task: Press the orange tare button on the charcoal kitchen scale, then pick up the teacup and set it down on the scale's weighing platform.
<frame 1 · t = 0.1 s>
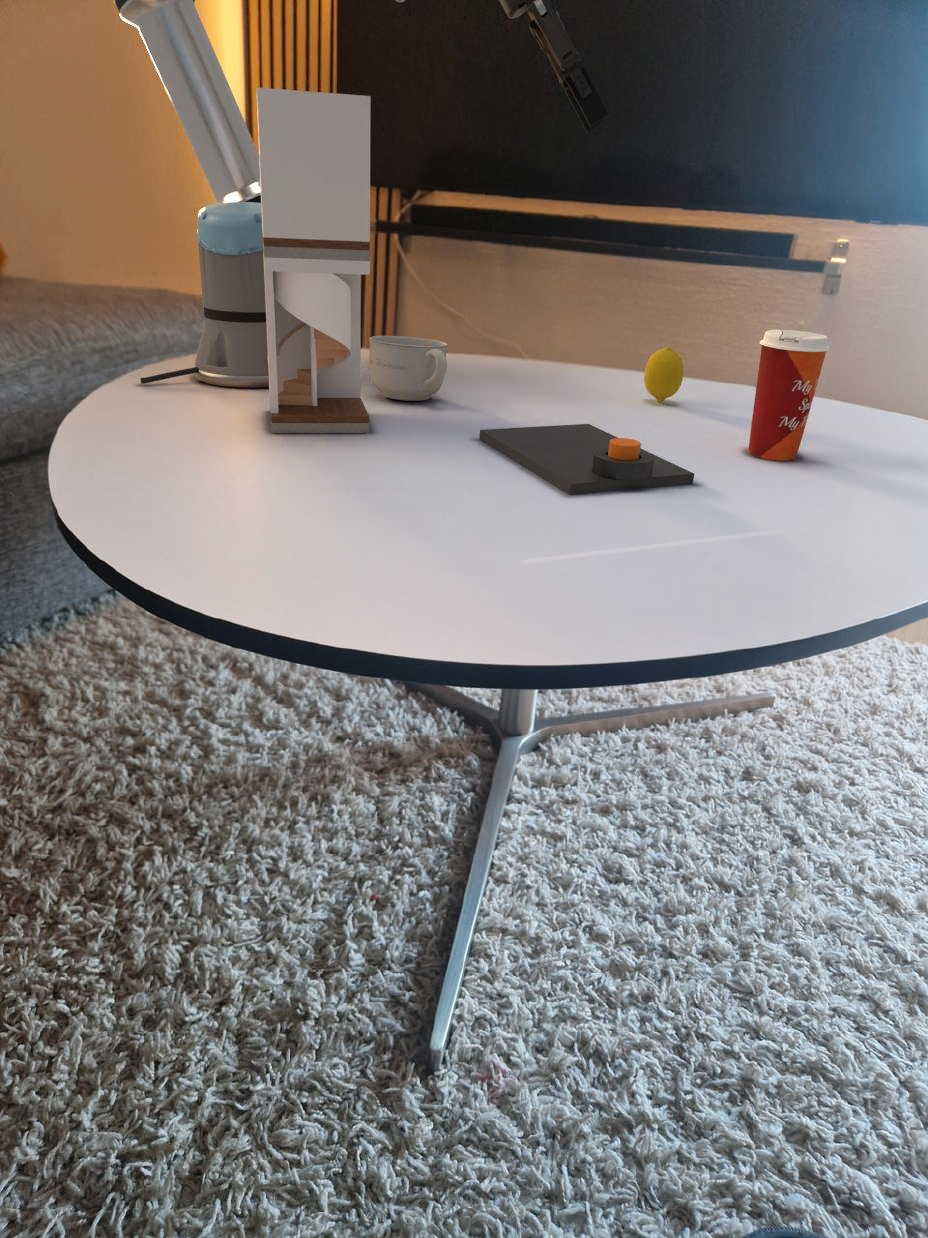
hand: (597, 124, 126), 36 cm above the table, tool tilted 35°, fingers open, 13 cm apart
tare button: (624, 450, 92), point 3 cm above the table, slide at 0.1 cm
spiral staircase model: (318, 423, 111), on the table
teacup: (411, 401, 125), on the table
lemon: (659, 403, 132), on the table
scale: (579, 460, 101), on the table
paper cup: (771, 455, 108), on the table
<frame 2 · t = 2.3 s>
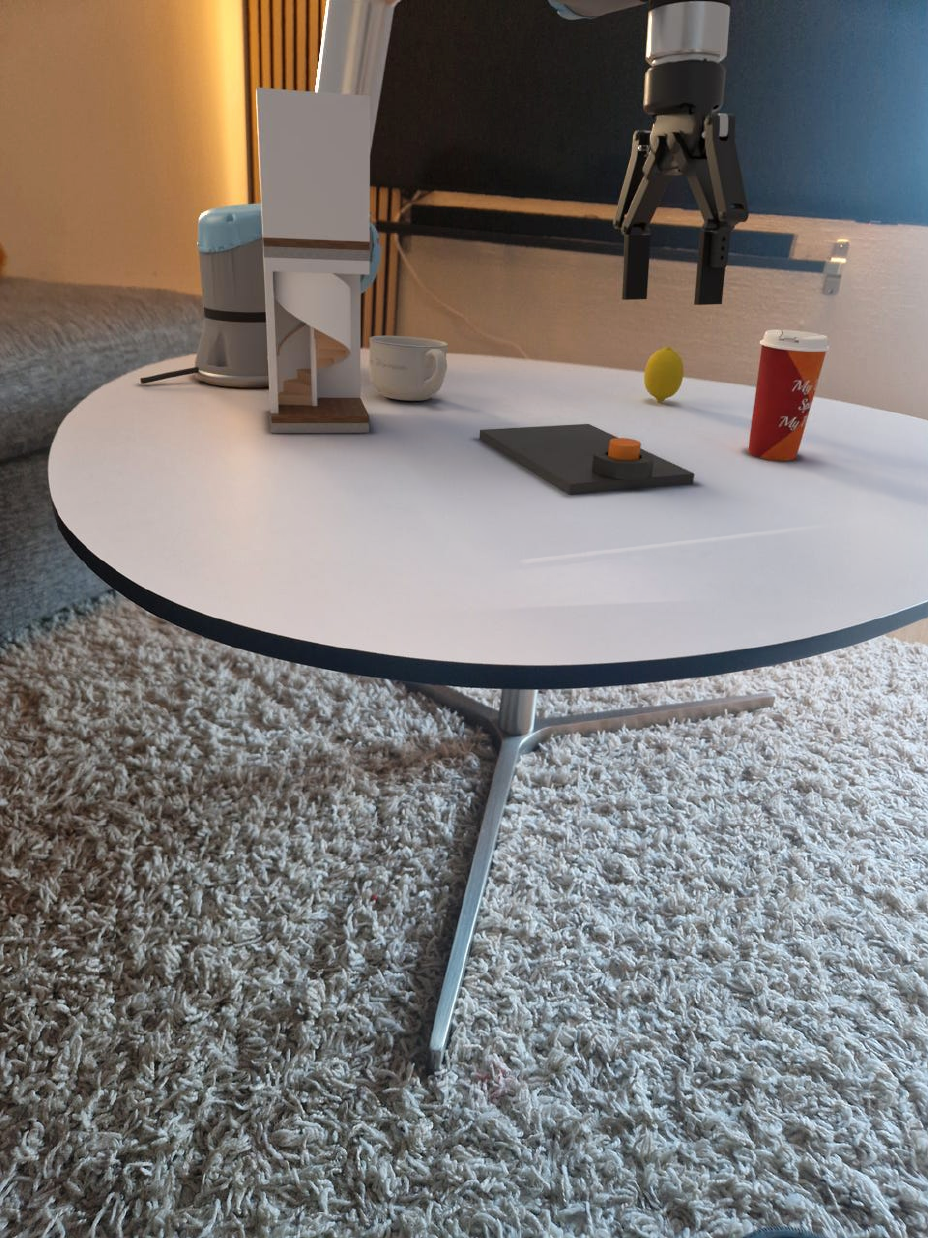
hand: (668, 302, 93), 17 cm above the table, tool pointing down, fingers open, 13 cm apart
nothing on the table moved.
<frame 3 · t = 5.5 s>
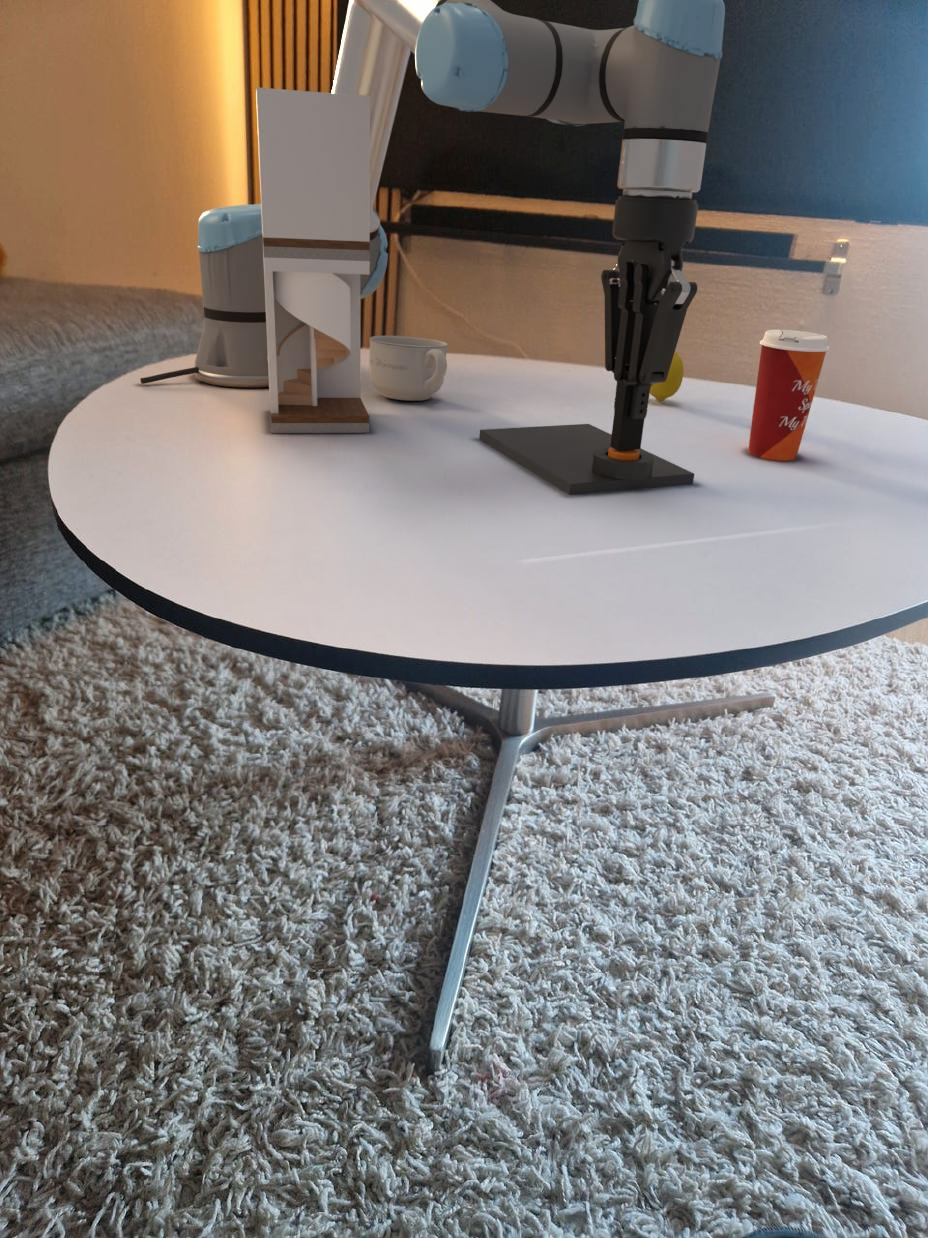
hand: (625, 447, 92), 4 cm above the table, tool pointing down, fingers closed
tare button: (623, 458, 93), point 3 cm above the table, slide at -0.7 cm, touching gripper
everything else where it was.
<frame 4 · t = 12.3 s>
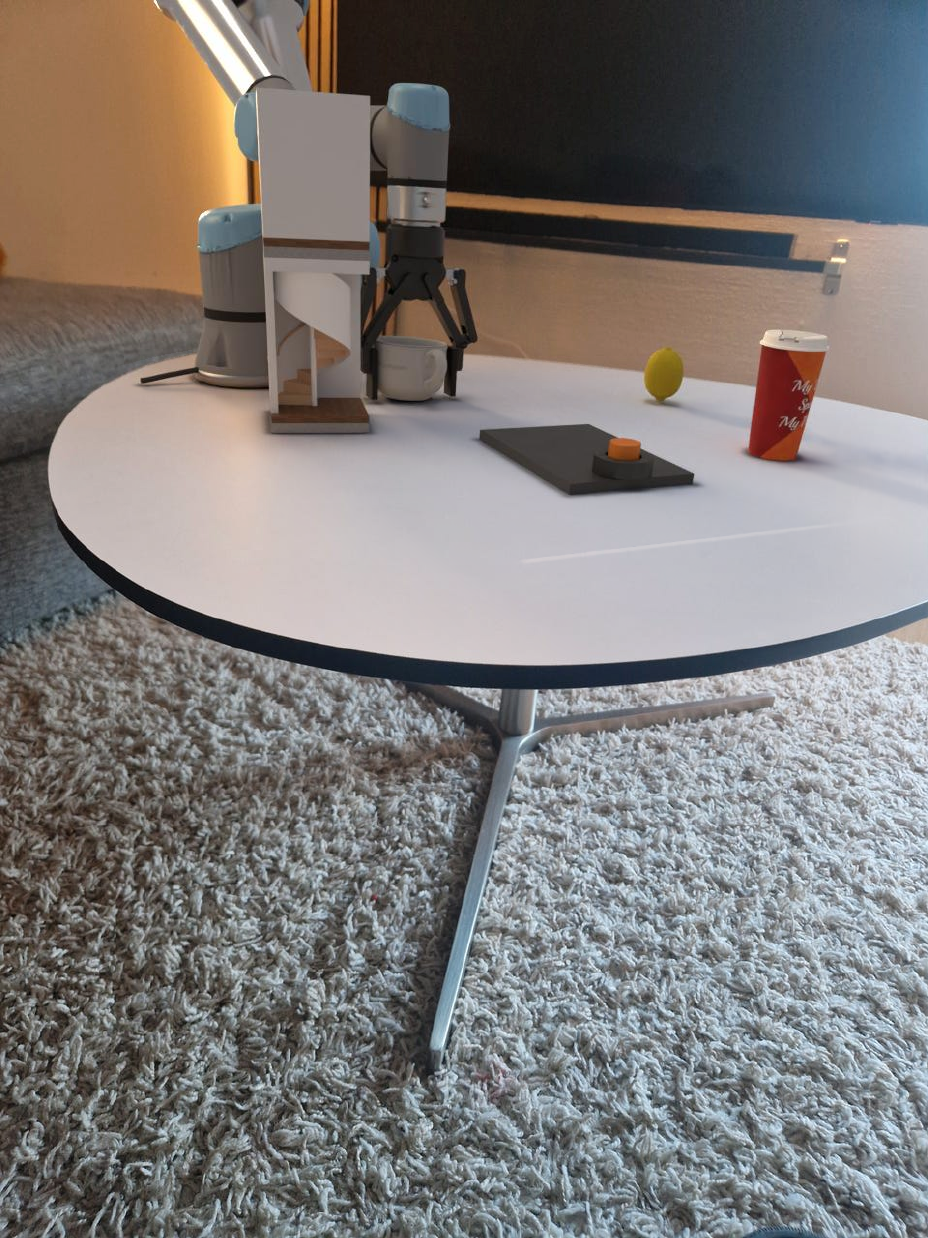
hand: (411, 396, 125), 0 cm above the table, tool pointing down, fingers closed on teacup, 11 cm apart
tare button: (624, 450, 92), point 3 cm above the table, slide at 0.1 cm
teacup: (411, 401, 125), on the table, touching gripper
everything else where it was.
when the fingers open (2 cm above the table, at t = 20.7 s): teacup stays where it is, resting on scale.
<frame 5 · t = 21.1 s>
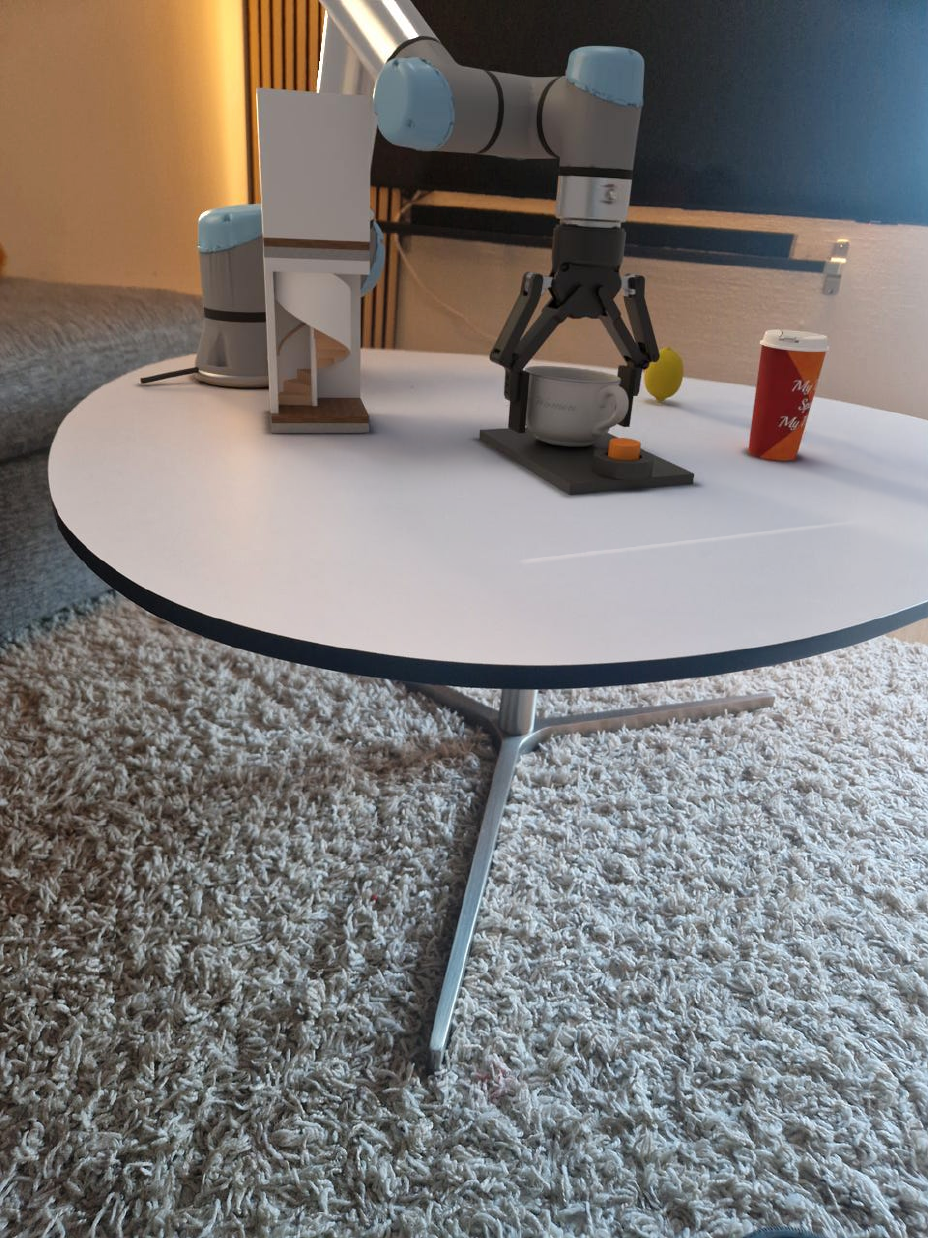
hand: (569, 427, 102), 3 cm above the table, tool pointing down, fingers open, 13 cm apart
spiral staircase model: (318, 423, 111), on the table, touching arm
teacup: (572, 446, 102), point 1 cm above the table, touching scale
everything else where it was.
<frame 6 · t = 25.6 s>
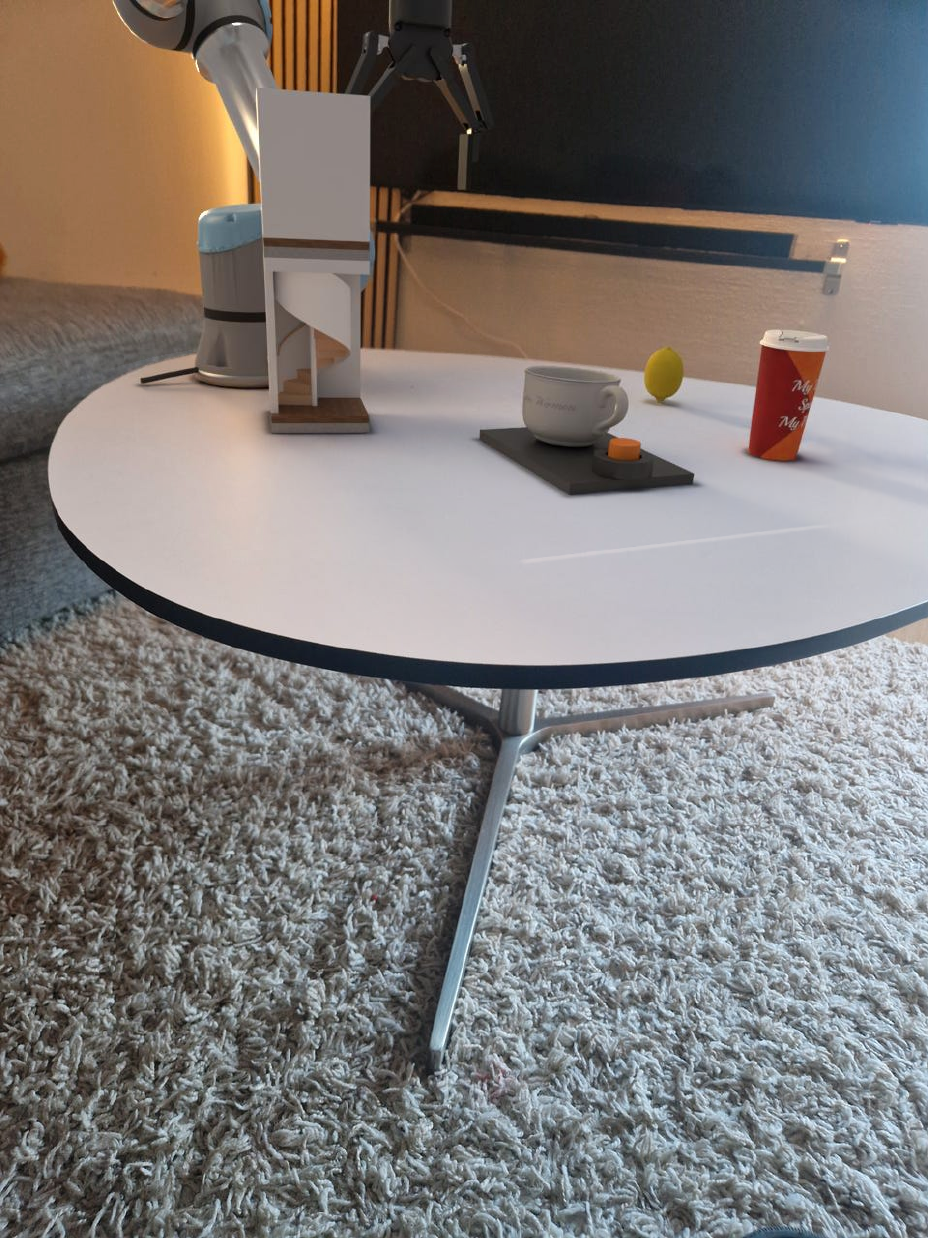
hand: (416, 187, 116), 27 cm above the table, tool pointing down, fingers open, 13 cm apart
spiral staircase model: (318, 423, 111), on the table
everything else where it was.
at the end: tare button pushed in 1.0 cm at the most during the clip, back to where it started at the end; teacup inside the target area on the scale (0.5 cm from its centre), point 1.0 cm above the scale's base; teacup tilted 0° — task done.
